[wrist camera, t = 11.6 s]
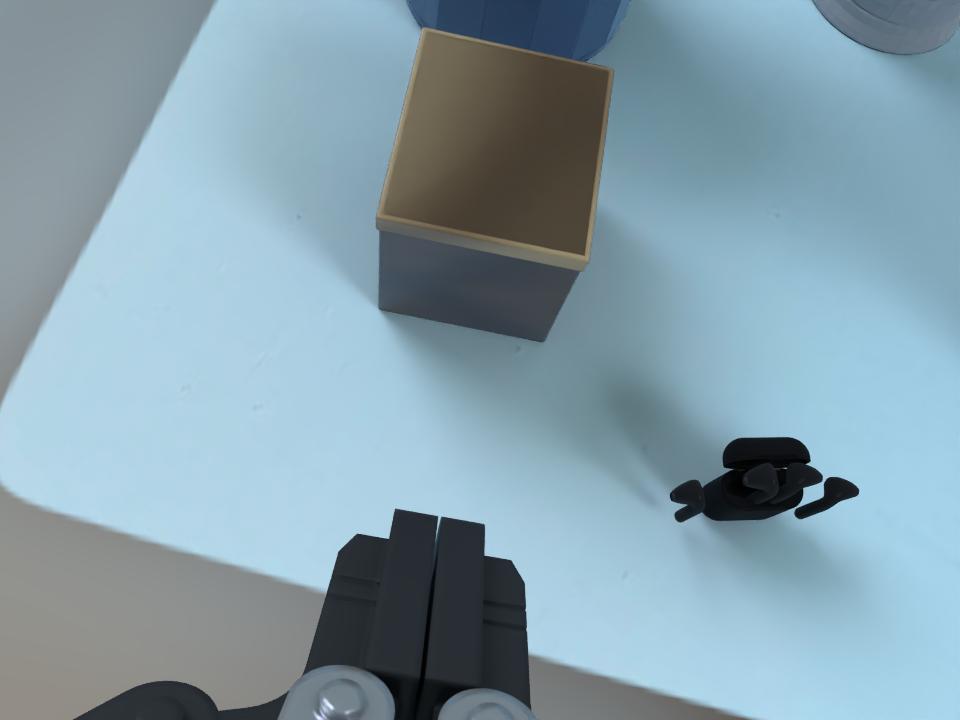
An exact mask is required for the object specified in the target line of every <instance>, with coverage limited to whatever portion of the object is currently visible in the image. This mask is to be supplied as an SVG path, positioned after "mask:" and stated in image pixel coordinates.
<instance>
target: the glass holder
mask: <svg viewBox="0 0 960 720" xmlns="http://www.w3.org/2000/svg"><path fill="white" fill-rule="evenodd" d="M813 1H814V3H815V4H816V6H817V7H818V9H819V10H820V12H821V13H822V14H823V15H824V16H825V17H826V18H827V19H828V21H829V22H830V23H831V24H833V25H834V26H835V27H836V28H837V29H839V30H840V31H841V32H842V33H844V34H845V35H847V36H849V37H850V38H852V39H853V40H855V41H857V42H859V43H861V44H864V45H866V46H868V47H871V48H874V49H877V50H880V51H883V52H889V53H895V54H917V53H924V52H927V51H930V50H933V49H936V48H937V47H939V46H941V45H943V44H945V43H946V42H947V41H948V40H949V39H950V38H951V37H952V36H953V34H954V33H955V31H956V30H957V28H958V27H959V25H960V0H813Z"/></svg>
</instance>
